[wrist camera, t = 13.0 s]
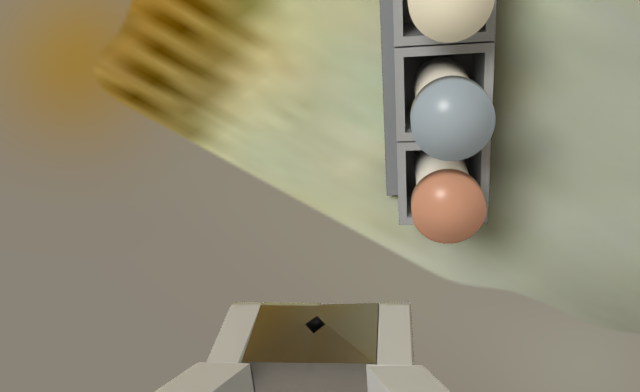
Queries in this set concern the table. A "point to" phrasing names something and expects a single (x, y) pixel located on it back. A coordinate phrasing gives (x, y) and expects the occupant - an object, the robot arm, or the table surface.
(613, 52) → the table surface
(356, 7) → the table surface
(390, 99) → the socket board
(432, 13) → the cream plug
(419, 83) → the slate plug
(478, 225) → the terracotta plug
